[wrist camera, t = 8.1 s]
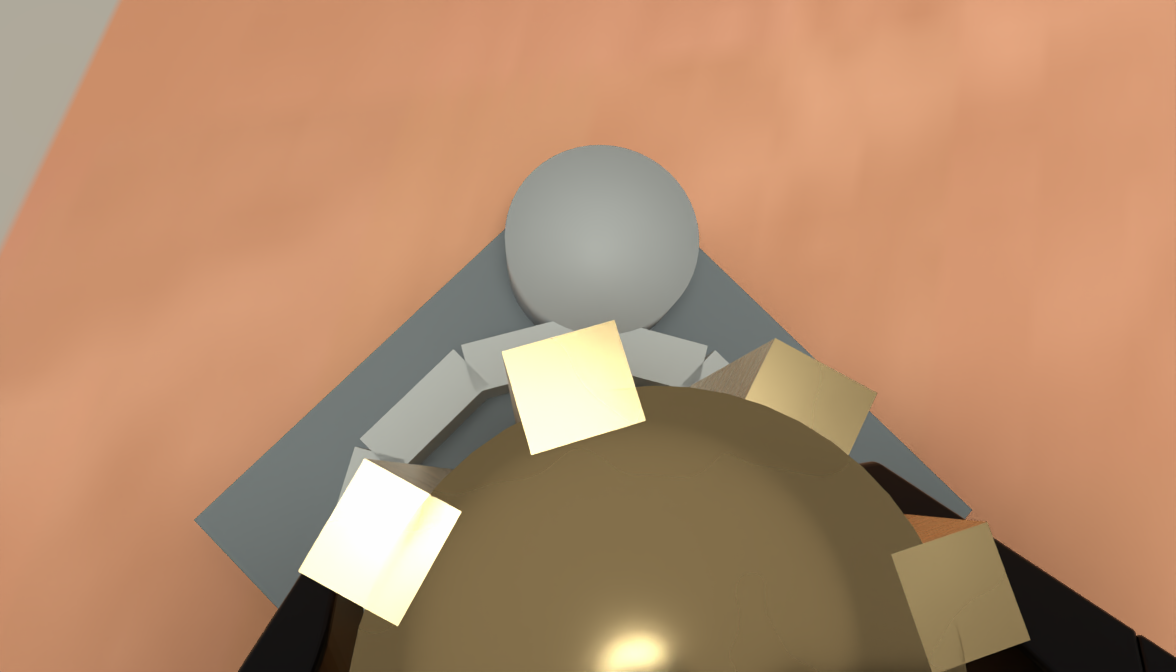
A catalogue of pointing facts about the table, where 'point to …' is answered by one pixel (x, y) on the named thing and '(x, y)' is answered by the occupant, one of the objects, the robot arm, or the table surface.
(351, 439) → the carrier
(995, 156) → the table surface
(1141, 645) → the robot arm
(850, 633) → the pinion gear
